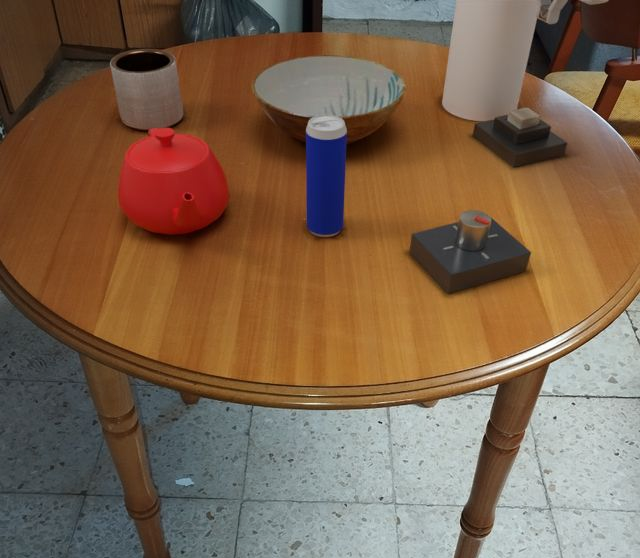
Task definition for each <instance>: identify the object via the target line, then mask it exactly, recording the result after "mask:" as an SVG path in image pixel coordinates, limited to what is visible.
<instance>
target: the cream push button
mask: <svg viewBox="0 0 640 558" xmlns="http://www.w3.org/2000/svg"><path fill="white" fill-rule="evenodd" d="M540 119H541V115H540V114H538V113H537V112H535V111H533V110H532V109H531V108H529V107H523V108H517V110H512V111H509V114H508V119H507V121H509V122H510V123H511V124H513V125H514V126H516V127H517V128H519V129H524V128H529V127H534V126H538V124H539V120H540Z"/></svg>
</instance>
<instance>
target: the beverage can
mask: <svg viewBox="0 0 640 558" xmlns="http://www.w3.org/2000/svg"><path fill="white" fill-rule="evenodd" d="M346 141H347V129H346V125H345V122H344V120H343V119H341V118H340V117H337V116H334V115H318V116H315V117H313V118H311V119H310V120H309V122H308V125H307V128H306V143H305V159H306V160H305V177H306V178H305V179H306V180H305V182H306V183H305V184H306V186H305V187H306V191H305V192H306V200H305V201H306V228H307V229H308V231H309V232H310V233H311V234H312V235H314V236H316V237H320V238H331V237H334V236H336V235H338V234H339V233H340V232H341V231H342V230H343V228H344V220H345V219H344V214H345V190H346V165H347V163H346V162H347V145H346Z"/></svg>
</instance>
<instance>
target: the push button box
mask: <svg viewBox="0 0 640 558" xmlns="http://www.w3.org/2000/svg"><path fill="white" fill-rule="evenodd" d="M507 119H508V115H504V116H499V117H495V119H493V120H489V121H478V122H475V123H474V125H473V131H472V137H473V138H474V139H476V140H477V141H478V142H480V143H481V144H482V145H484V146H485V147H486V148H487V149H488V150H490V151H492V152H493V153H494V154H495V155H497V156H498V157H499V158H500V159H502V160H503V161H505V162H506V164H508V165H510V166H511V167H513V168H518V167H521V166H525V165H530V164H535V163H539V162H542V161H543V162H544V161H547V160H551V159H555V158H560V157H564V156H565V154H566V151H567V146H568V141H566V140H565V139H563V138H561V137H560V136H558V135H557V134H555V133H554V132H553V131H552V126H551V125H550V124H548V123H547V122H546V121H544V120H543V119H541V118H540V120H539V124H538V126H534V127H529V128H524V129H519V128H517V127H516V126H514V125H513V124H511V123H510V122H509V121H507Z"/></svg>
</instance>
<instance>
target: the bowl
mask: <svg viewBox="0 0 640 558" xmlns="http://www.w3.org/2000/svg"><path fill="white" fill-rule="evenodd" d="M250 85H251V87H250V88H251V91H252V95H254V97H255V99H256V101H257V103H258V105H259V106H260V108H261V109H262V111H263V113H264V114H265V115H266V117H267V118H268V119H269V120H270V121H271V122H272V123H273V125H275V126H276V127H277V128H278V129H280V130H281V131H282V132H284V133H285V134H286V135H289V136H291V137H292V138H294V139H297V140H298V141H300V142H302V143H304V144H306V128H307V125H308V122H309V120H310V119H311V118H313V117H315V116H318V115H334V116H337V117H340V118H341V119H343V120H344V122H345V125H346V129H347V141H346V146H348V145H351V144H353V143H356V142H357V141H359V140H361V139H364V138H367V137H368V136H370V135H371V134H373V133H374V132H376V131H377V130H378V129H379V128H380V127H382V126H383V125H384V124H385V123H386V122H387V121H388V120H389V118H390V117H391V116H392V115H394V113H395V111H396V110H397V108H398V107H399V105H400V104H401V102H402V100H403V98H404V96H405V94H406V91H407V84H406V81H405V80H404V78H403V77H402V75H400V73H398V72H397V71H396V70H394V69H392V68H391V67H389V66H387V65H384V64H382V63H380V62H377V61H373V60H371V59H370V60H369V59H366V58H362V57H361V58H360V57H356V56H350V55H348V56H347V55H338V54H337V55H336V54H317V55H305V56H298V57H294V58H289V59H284V60H282V61H278V62H275V63H273V64H270V65H269V66H266V67H264V68H263V69H261V70H260V71H259V72H257V73H256V75H255V76H254V77H253V79H252V80H251V84H250Z"/></svg>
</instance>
